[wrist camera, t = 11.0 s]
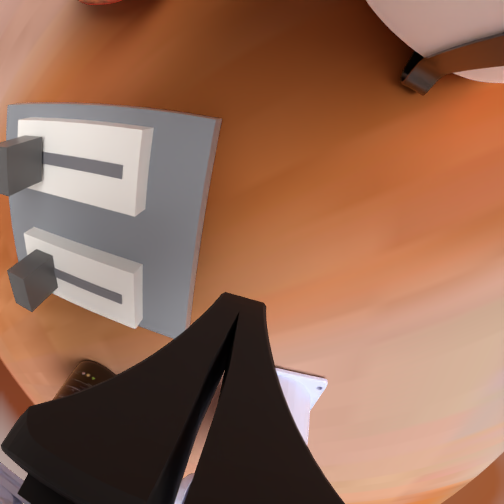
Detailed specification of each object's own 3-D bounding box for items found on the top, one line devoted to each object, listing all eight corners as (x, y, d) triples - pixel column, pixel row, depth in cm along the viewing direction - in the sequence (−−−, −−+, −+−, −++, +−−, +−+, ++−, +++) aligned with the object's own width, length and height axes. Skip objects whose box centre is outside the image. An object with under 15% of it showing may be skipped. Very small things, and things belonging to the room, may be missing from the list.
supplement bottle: (132, 404, 31) (92, 482, 21) (86, 384, 32) (42, 453, 21) (124, 371, 28) (72, 461, 18) (73, 350, 29) (18, 425, 18)
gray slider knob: (42, 180, 16) (9, 196, 13) (25, 177, 16) (-7, 191, 13) (42, 136, 15) (6, 147, 12) (24, 135, 15) (-10, 145, 12)
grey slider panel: (188, 331, 23) (161, 388, 18) (28, 267, 24) (-11, 299, 19) (222, 118, 16) (179, 125, 10) (18, 103, 17) (-39, 115, 11)
